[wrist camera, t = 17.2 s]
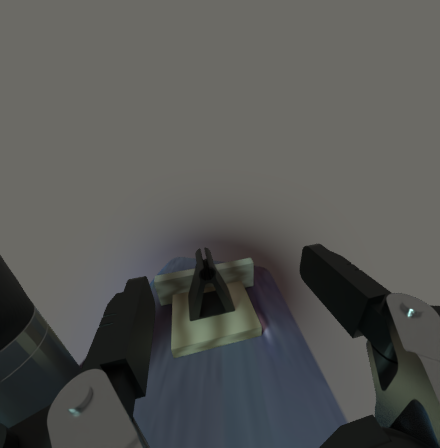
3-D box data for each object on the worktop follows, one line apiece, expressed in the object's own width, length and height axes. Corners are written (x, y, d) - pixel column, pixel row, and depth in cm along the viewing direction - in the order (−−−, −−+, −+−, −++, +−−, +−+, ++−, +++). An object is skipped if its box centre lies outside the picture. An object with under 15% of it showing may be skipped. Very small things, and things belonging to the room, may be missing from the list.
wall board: (156, 362, 32) (145, 337, 29) (161, 298, 44) (155, 276, 41) (276, 331, 35) (278, 305, 32) (250, 280, 48) (250, 257, 44)
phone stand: (228, 289, 42) (225, 244, 37) (235, 311, 37) (232, 262, 32) (188, 297, 41) (178, 251, 36) (189, 321, 36) (178, 272, 30)
